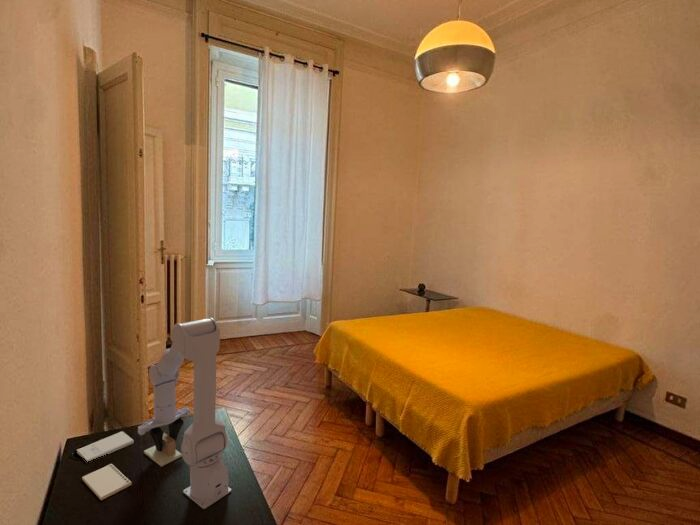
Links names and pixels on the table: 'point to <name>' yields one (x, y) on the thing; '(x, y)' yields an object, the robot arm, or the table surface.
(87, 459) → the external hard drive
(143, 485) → the table surface
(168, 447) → the stub
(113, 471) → the board
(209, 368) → the robot arm
